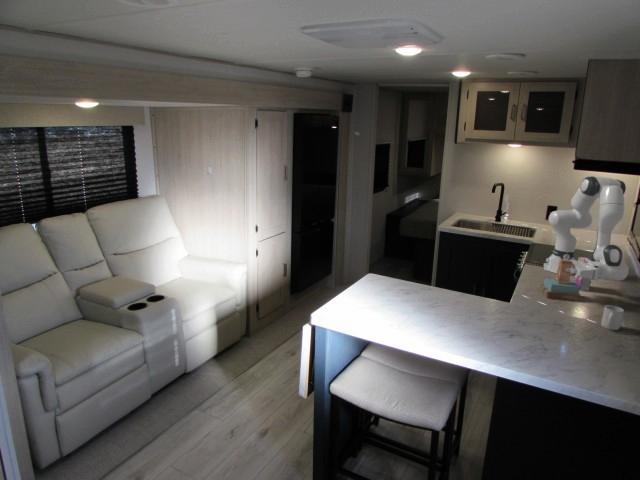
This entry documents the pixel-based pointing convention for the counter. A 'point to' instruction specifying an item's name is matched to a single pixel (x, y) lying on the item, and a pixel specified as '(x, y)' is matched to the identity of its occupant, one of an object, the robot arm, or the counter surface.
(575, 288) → the tower top
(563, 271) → the terracotta block
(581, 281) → the candy bar box
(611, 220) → the robot arm
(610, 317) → the cup
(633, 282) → the counter surface
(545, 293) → the block
